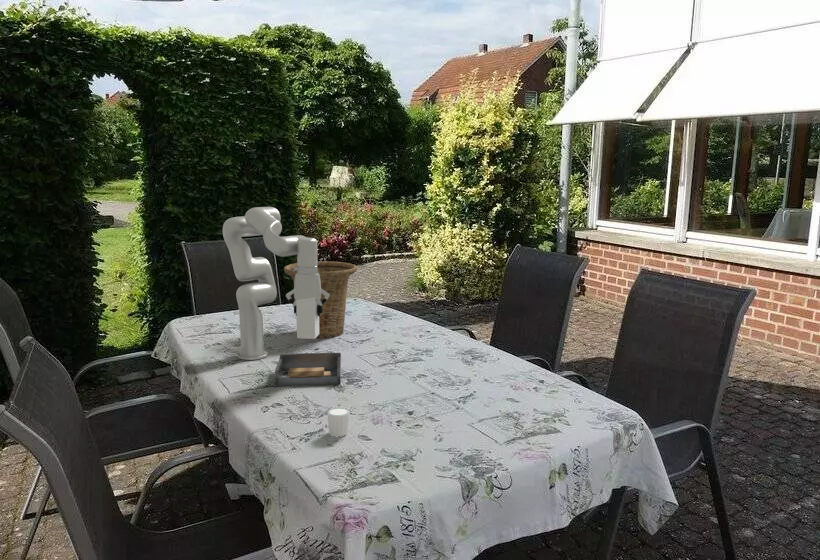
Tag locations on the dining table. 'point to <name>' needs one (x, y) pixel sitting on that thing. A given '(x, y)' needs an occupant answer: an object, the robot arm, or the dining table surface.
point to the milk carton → (307, 318)
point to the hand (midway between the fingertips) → (308, 315)
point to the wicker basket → (331, 294)
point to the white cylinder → (338, 421)
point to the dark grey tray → (308, 361)
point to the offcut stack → (308, 372)
